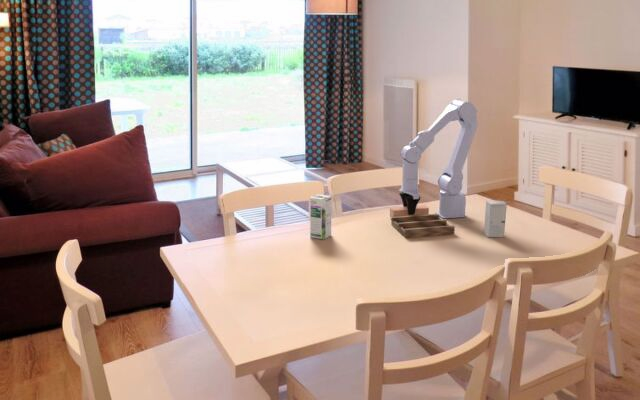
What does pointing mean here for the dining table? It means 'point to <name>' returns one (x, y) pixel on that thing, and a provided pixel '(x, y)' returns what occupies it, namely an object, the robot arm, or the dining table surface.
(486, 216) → the skincare box
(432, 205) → the dining table surface
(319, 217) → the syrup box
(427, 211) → the clay strip
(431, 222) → the rack
